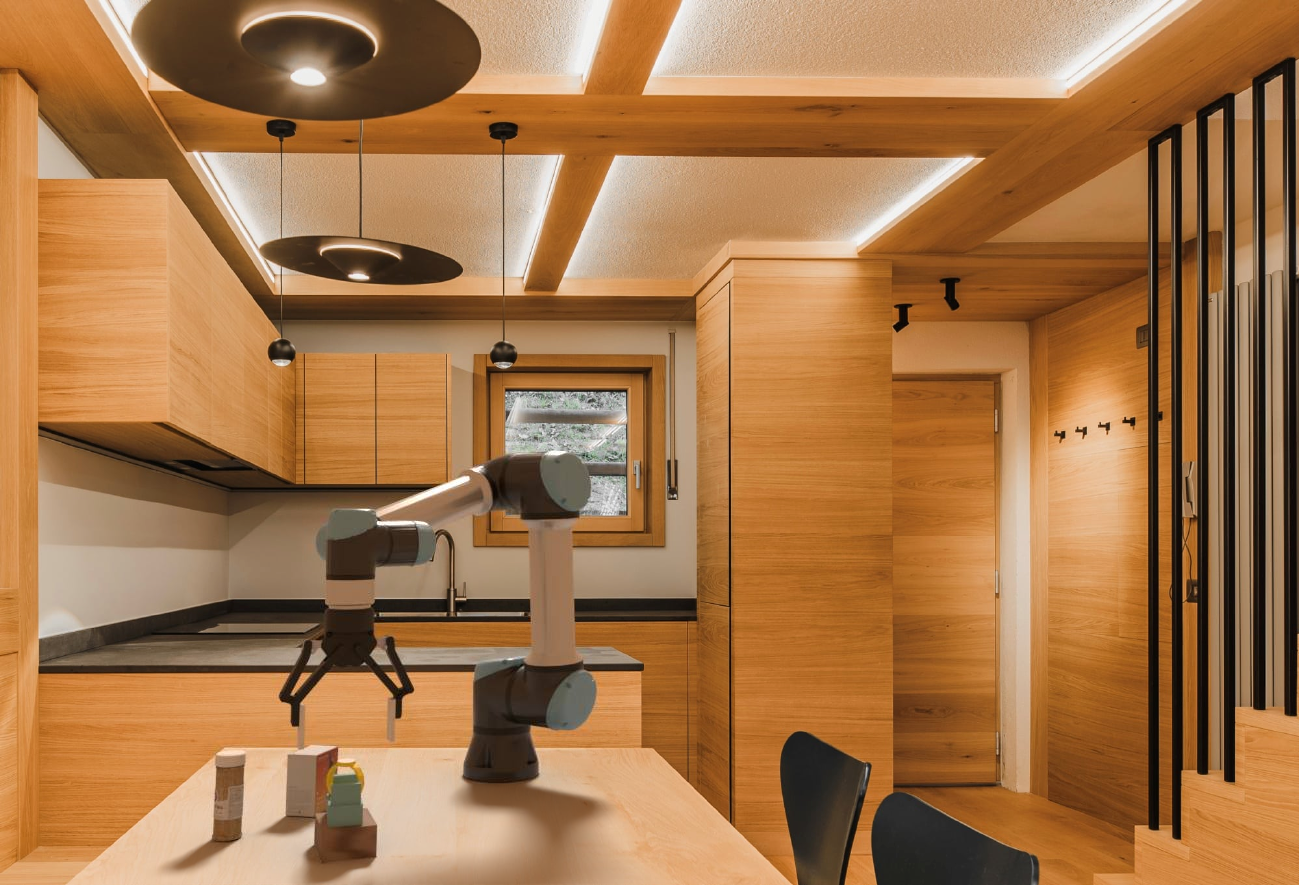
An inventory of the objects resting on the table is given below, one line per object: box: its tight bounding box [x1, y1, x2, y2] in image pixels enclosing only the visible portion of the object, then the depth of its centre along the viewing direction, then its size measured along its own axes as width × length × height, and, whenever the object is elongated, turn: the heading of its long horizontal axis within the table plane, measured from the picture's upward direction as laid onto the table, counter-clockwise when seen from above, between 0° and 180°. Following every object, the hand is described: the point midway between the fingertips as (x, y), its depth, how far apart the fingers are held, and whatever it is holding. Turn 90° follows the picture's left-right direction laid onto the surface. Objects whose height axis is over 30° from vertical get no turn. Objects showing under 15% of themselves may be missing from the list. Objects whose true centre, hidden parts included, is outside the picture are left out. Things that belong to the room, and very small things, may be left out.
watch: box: [326, 758, 365, 794], centre depth 158 cm, size 6×3×6 cm, turn 72°
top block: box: [325, 772, 364, 828], centre depth 157 cm, size 5×8×6 cm, turn 19°
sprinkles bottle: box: [211, 749, 247, 842], centre depth 163 cm, size 5×5×14 cm
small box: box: [285, 744, 339, 818], centre depth 179 cm, size 8×6×10 cm
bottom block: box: [313, 807, 378, 865], centre depth 157 cm, size 8×10×5 cm
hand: (346, 744), depth 159 cm, fingers open, 13 cm apart
